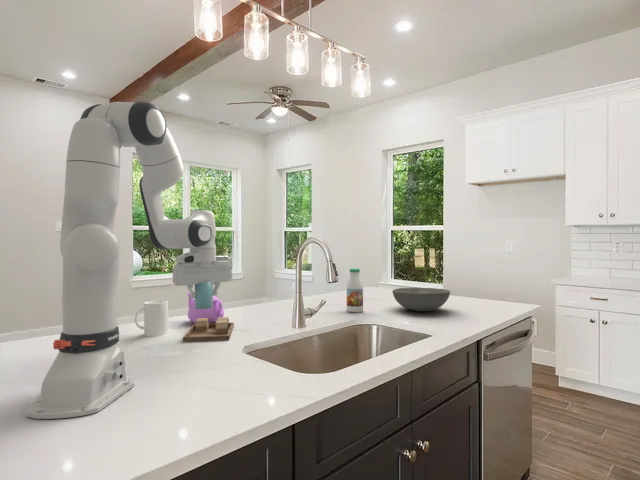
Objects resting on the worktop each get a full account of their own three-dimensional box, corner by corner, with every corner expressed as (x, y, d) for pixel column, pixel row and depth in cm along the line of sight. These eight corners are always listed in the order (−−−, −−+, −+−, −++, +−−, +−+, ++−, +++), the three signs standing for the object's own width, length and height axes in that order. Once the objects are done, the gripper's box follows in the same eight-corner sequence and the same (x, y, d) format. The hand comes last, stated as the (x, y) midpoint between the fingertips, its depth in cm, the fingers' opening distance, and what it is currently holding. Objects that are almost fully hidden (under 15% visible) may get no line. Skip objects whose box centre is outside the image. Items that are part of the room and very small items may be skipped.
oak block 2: (228, 329, 149) (228, 319, 149) (217, 330, 148) (217, 319, 148) (228, 327, 153) (228, 316, 153) (217, 328, 152) (217, 317, 152)
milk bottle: (343, 310, 188) (343, 268, 188) (357, 309, 192) (357, 267, 191) (351, 313, 181) (351, 269, 181) (366, 311, 185) (366, 268, 184)
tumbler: (204, 309, 134) (203, 283, 134) (191, 308, 137) (190, 282, 137) (216, 306, 140) (216, 281, 140) (203, 305, 142) (203, 280, 142)
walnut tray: (229, 341, 135) (229, 335, 135) (183, 343, 133) (183, 337, 133) (233, 328, 155) (233, 322, 155) (193, 329, 153) (193, 324, 153)
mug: (138, 340, 137) (137, 306, 137) (130, 336, 143) (130, 302, 143) (172, 335, 145) (172, 302, 144) (164, 330, 151) (163, 299, 151)
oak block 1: (206, 331, 147) (206, 320, 147) (195, 331, 147) (195, 320, 147) (208, 328, 151) (208, 318, 151) (197, 328, 151) (197, 318, 151)
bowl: (389, 314, 179) (389, 292, 179) (395, 304, 204) (395, 284, 204) (450, 317, 171) (450, 294, 171) (449, 306, 196) (449, 286, 196)
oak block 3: (227, 333, 144) (227, 322, 144) (216, 334, 143) (216, 322, 143) (226, 330, 148) (226, 319, 148) (215, 331, 147) (215, 320, 147)
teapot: (173, 324, 162) (173, 293, 161) (200, 317, 174) (199, 289, 174) (210, 330, 152) (209, 297, 152) (235, 322, 164) (234, 292, 164)
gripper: (227, 255, 147) (228, 292, 147) (170, 257, 135) (171, 298, 135) (234, 255, 142) (235, 294, 142) (176, 258, 130) (177, 300, 130)
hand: (203, 296), depth 138 cm, fingers closed on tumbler, 6 cm apart
